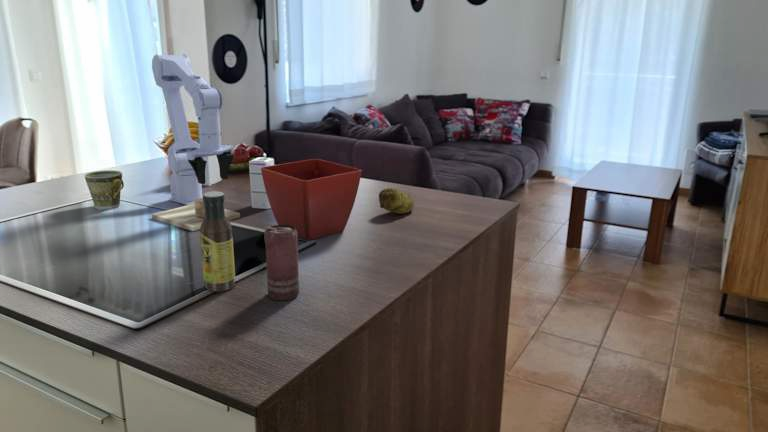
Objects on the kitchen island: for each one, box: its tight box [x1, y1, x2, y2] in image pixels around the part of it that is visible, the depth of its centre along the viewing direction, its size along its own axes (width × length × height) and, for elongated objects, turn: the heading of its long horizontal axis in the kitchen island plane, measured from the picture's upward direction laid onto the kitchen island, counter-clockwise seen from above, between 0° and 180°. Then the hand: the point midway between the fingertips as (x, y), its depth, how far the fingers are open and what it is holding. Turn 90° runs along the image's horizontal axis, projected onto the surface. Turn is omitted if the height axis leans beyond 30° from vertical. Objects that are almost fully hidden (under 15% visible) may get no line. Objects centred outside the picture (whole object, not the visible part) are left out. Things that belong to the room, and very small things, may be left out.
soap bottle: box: [196, 127, 223, 187], centre depth 201 cm, size 9×9×19 cm
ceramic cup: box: [84, 169, 125, 211], centre depth 172 cm, size 13×10×10 cm
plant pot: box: [261, 158, 362, 241], centre depth 153 cm, size 19×19×17 cm
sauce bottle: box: [199, 191, 236, 293], centre depth 117 cm, size 6×6×20 cm
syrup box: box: [248, 156, 275, 210], centre depth 175 cm, size 6×6×14 cm
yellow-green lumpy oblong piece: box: [378, 187, 415, 215], centre depth 171 cm, size 8×13×8 cm, turn 119°
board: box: [151, 203, 241, 232], centre depth 164 cm, size 18×16×1 cm
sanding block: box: [194, 198, 205, 219], centre depth 160 cm, size 7×4×5 cm, turn 54°
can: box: [263, 224, 300, 302], centre depth 114 cm, size 6×6×14 cm
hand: (213, 181), depth 165 cm, fingers open, 7 cm apart
